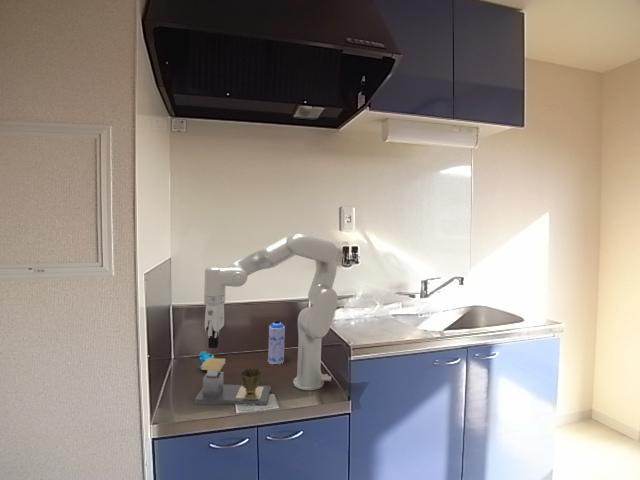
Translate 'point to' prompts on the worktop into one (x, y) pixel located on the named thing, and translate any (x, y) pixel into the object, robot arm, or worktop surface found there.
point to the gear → (204, 356)
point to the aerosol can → (276, 343)
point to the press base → (229, 393)
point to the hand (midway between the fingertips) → (213, 347)
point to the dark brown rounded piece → (251, 379)
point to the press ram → (213, 367)
